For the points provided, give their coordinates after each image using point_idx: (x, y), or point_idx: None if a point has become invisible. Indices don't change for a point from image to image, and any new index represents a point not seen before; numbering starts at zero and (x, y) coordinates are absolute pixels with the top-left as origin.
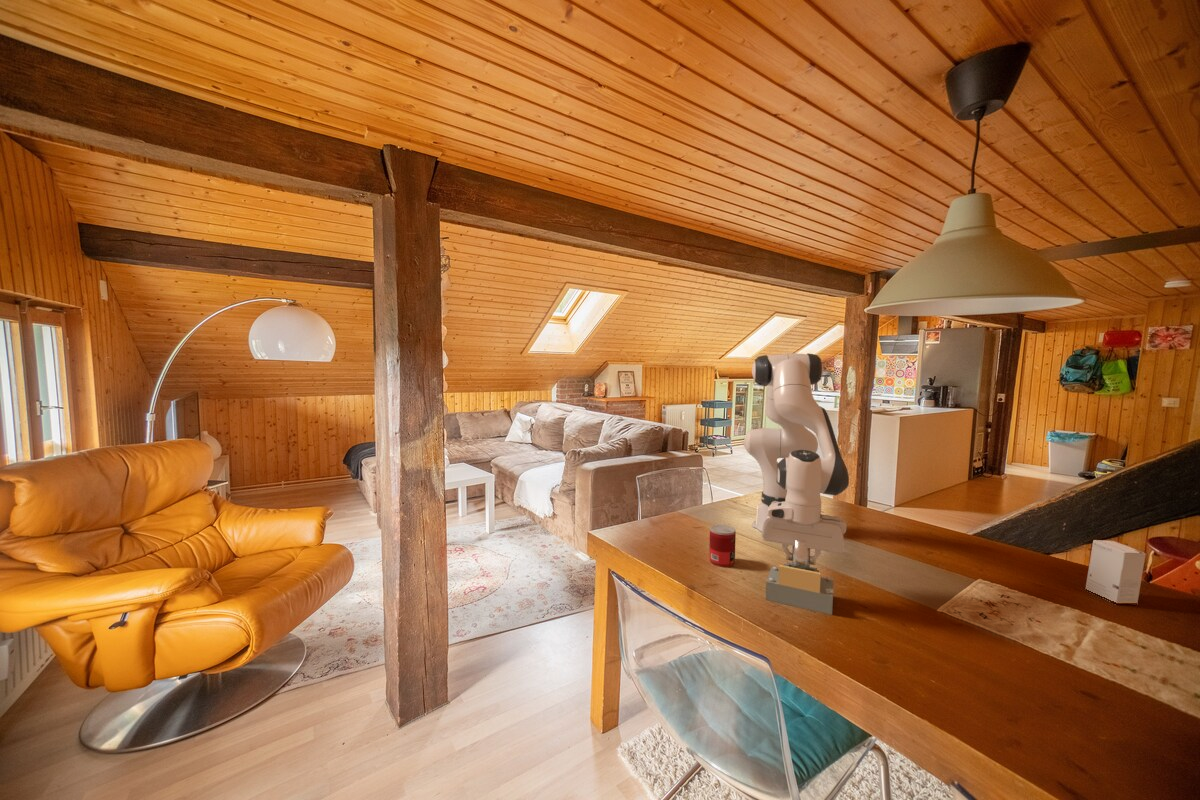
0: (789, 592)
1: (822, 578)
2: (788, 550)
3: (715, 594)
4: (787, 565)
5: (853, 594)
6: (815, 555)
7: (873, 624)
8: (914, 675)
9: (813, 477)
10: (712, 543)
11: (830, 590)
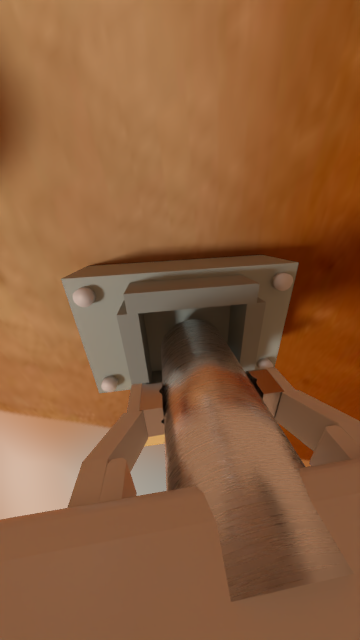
0: None
1: (260, 276)
2: (136, 428)
3: (5, 394)
4: (135, 327)
5: (323, 197)
6: (300, 436)
7: (319, 334)
8: None
9: None
10: None
11: (272, 347)
